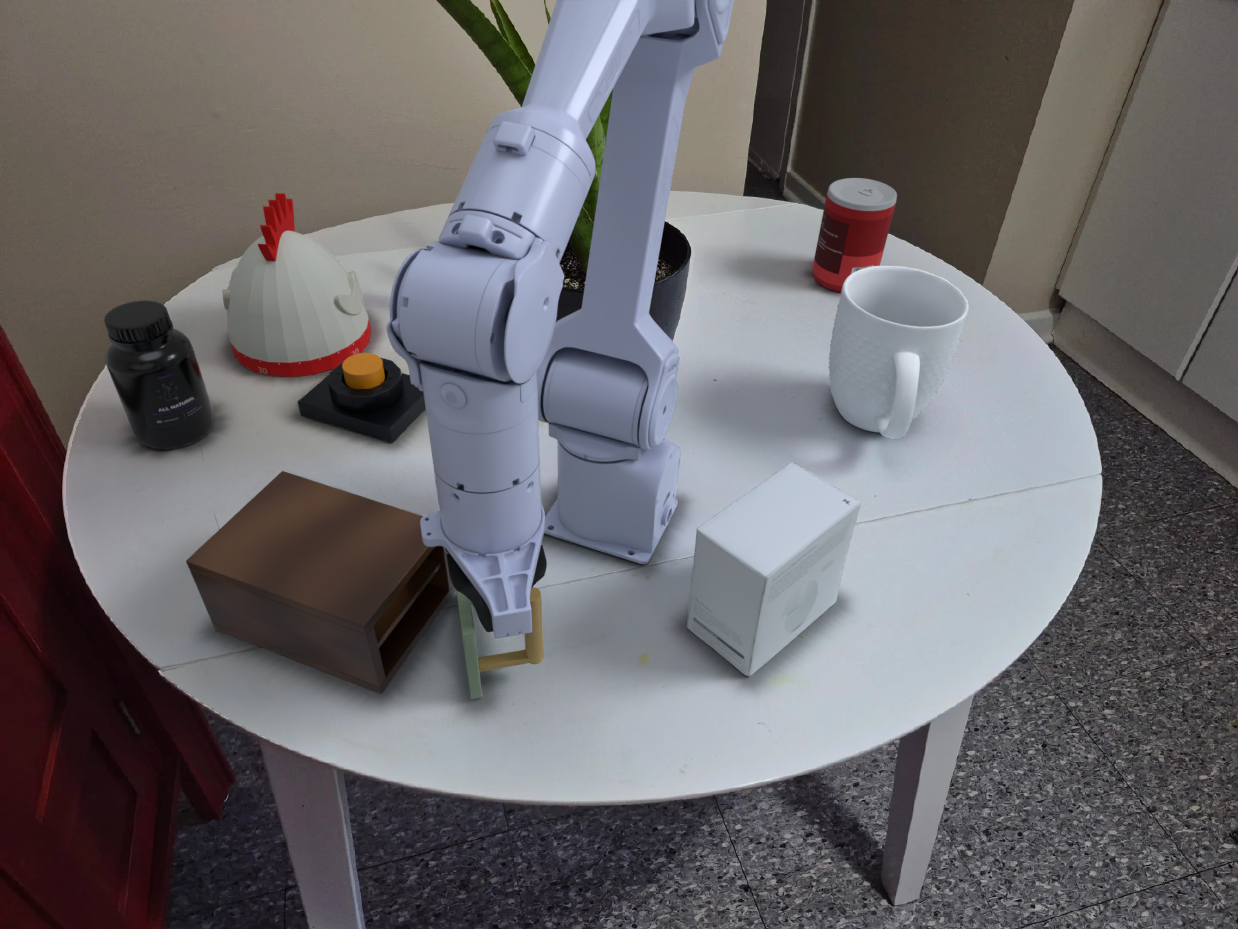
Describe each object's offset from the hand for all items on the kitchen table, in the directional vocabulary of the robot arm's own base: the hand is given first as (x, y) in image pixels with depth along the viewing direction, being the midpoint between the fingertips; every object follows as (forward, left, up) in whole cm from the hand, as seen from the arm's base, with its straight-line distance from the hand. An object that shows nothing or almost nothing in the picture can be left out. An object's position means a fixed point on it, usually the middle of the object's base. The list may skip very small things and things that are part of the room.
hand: (500, 619), depth 56 cm
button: (+26, -23, -3) cm, 35 cm away
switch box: (+26, -23, -7) cm, 35 cm away
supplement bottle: (+40, -13, -7) cm, 43 cm away
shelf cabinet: (+14, -1, -7) cm, 16 cm away
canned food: (-11, -68, -7) cm, 69 cm away
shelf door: (+2, -3, -6) cm, 7 cm away
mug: (-19, -41, -7) cm, 45 cm away
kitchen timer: (+39, -30, -7) cm, 50 cm away
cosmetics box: (-15, -13, -7) cm, 21 cm away
